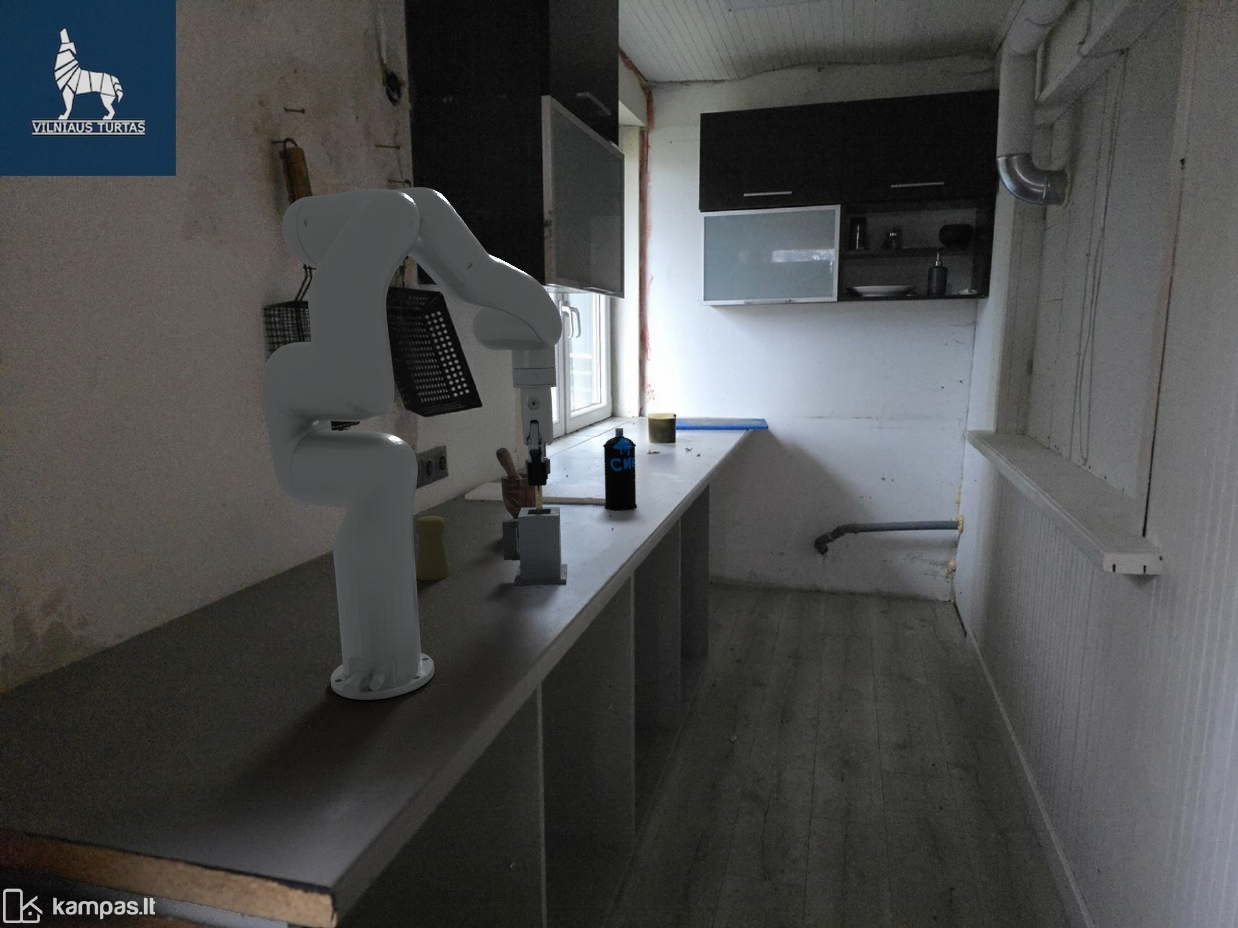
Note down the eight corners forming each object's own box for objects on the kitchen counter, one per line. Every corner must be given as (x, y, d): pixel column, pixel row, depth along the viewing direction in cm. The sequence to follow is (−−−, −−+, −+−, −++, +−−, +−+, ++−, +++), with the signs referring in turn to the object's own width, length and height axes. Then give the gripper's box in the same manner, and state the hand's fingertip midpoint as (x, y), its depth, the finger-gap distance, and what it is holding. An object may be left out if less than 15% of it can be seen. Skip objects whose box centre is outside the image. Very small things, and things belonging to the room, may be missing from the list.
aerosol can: (599, 505, 194) (597, 427, 191) (628, 502, 197) (627, 425, 194) (612, 511, 187) (611, 431, 183) (642, 508, 190) (641, 428, 187)
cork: (441, 581, 136) (437, 521, 134) (410, 579, 137) (406, 520, 135) (455, 570, 142) (452, 513, 140) (425, 569, 143) (421, 512, 141)
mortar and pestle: (534, 542, 160) (530, 448, 157) (494, 541, 161) (490, 448, 158) (546, 528, 172) (543, 441, 168) (509, 528, 173) (505, 441, 169)
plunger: (552, 543, 134) (549, 461, 132) (527, 544, 134) (524, 462, 131) (553, 537, 138) (550, 457, 136) (529, 538, 138) (525, 458, 136)
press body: (566, 583, 133) (564, 516, 131) (502, 585, 132) (499, 518, 130) (567, 568, 142) (565, 505, 140) (507, 570, 141) (504, 507, 139)
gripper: (554, 381, 123) (558, 491, 126) (557, 375, 140) (561, 473, 143) (508, 382, 123) (512, 492, 126) (516, 376, 139) (520, 474, 142)
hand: (538, 481), depth 134 cm, fingers closed on plunger, 4 cm apart
